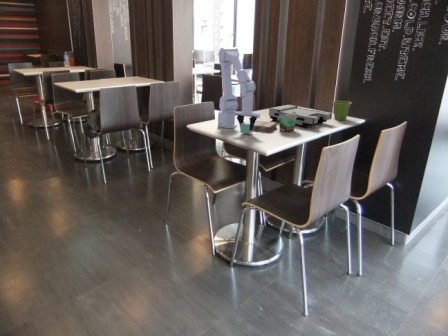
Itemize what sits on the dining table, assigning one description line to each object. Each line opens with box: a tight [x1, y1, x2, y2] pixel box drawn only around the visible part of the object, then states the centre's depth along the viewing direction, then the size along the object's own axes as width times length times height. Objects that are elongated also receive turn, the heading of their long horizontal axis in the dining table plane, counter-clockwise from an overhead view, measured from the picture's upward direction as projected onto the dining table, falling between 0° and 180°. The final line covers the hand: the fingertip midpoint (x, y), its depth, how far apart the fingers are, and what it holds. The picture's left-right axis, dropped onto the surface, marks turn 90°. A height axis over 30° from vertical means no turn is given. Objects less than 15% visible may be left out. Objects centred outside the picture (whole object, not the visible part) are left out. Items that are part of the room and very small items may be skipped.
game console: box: [268, 104, 333, 129], centre depth 212 cm, size 21×32×8 cm, turn 44°
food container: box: [278, 112, 297, 133], centre depth 191 cm, size 12×6×10 cm, turn 126°
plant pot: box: [332, 100, 353, 121], centre depth 221 cm, size 12×12×11 cm
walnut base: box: [252, 120, 278, 133], centre depth 197 cm, size 12×12×3 cm
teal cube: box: [239, 121, 253, 134], centre depth 186 cm, size 5×5×5 cm
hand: (246, 129), depth 186 cm, fingers closed on teal cube, 5 cm apart
